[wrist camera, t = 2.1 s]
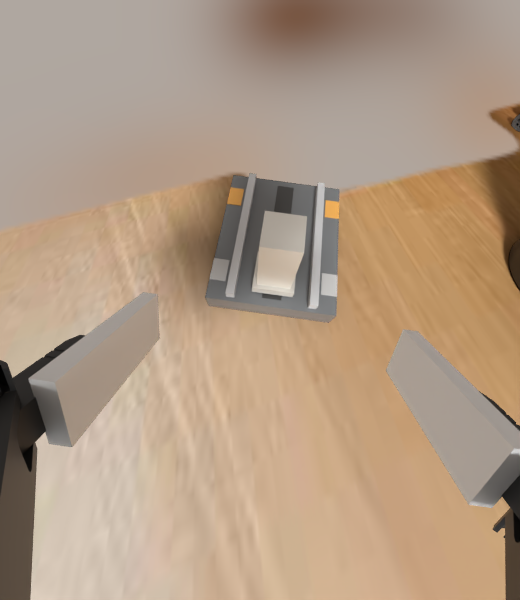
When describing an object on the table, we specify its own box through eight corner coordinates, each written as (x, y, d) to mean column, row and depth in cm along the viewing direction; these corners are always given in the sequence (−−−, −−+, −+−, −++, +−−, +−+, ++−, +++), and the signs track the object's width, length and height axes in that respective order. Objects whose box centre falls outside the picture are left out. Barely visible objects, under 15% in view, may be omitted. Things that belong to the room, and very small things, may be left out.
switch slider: (295, 261, 32) (312, 212, 23) (292, 297, 30) (309, 258, 21) (257, 256, 32) (260, 205, 23) (251, 291, 30) (252, 250, 22)
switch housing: (333, 203, 40) (342, 182, 36) (328, 322, 33) (339, 312, 29) (234, 190, 40) (233, 168, 36) (209, 305, 33) (203, 293, 29)
